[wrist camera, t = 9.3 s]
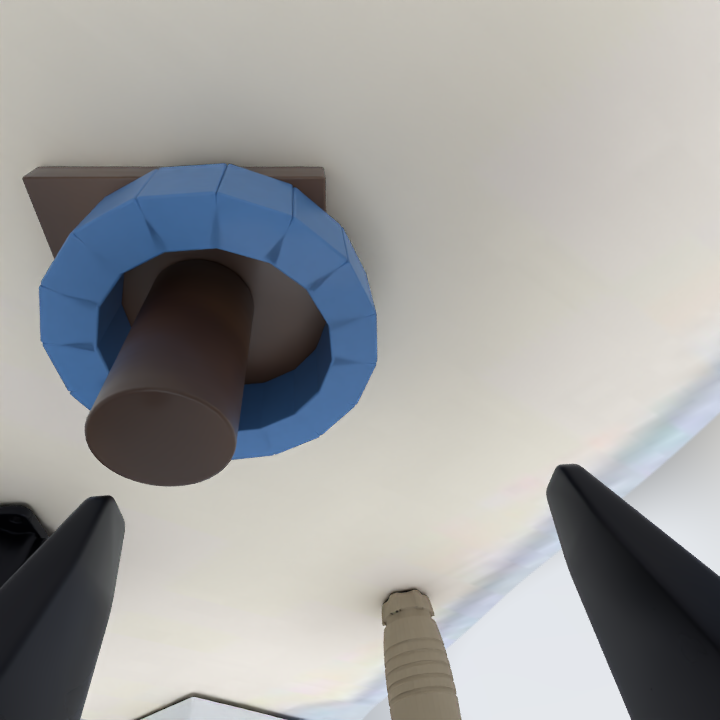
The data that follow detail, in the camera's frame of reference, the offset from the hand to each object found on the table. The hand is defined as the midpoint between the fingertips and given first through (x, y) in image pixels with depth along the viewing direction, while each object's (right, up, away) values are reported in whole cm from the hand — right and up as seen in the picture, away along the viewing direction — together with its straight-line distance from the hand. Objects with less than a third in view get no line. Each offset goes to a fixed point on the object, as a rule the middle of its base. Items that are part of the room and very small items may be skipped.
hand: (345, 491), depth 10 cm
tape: (-4, +4, +6) cm, 8 cm away
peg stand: (-5, +5, +6) cm, 9 cm away
